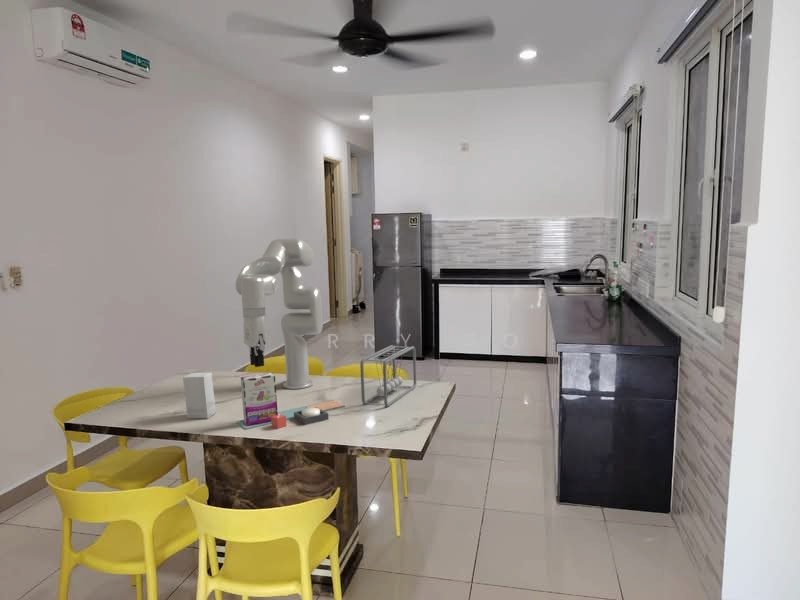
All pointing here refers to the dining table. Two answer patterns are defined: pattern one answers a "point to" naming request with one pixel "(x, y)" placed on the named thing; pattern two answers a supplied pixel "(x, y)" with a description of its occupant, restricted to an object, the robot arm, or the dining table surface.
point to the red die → (278, 421)
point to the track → (287, 413)
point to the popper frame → (312, 419)
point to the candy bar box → (259, 398)
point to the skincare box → (199, 395)
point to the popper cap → (310, 412)
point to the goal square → (326, 405)
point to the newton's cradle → (396, 379)
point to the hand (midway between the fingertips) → (257, 364)
